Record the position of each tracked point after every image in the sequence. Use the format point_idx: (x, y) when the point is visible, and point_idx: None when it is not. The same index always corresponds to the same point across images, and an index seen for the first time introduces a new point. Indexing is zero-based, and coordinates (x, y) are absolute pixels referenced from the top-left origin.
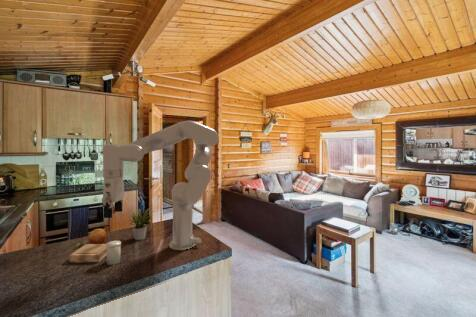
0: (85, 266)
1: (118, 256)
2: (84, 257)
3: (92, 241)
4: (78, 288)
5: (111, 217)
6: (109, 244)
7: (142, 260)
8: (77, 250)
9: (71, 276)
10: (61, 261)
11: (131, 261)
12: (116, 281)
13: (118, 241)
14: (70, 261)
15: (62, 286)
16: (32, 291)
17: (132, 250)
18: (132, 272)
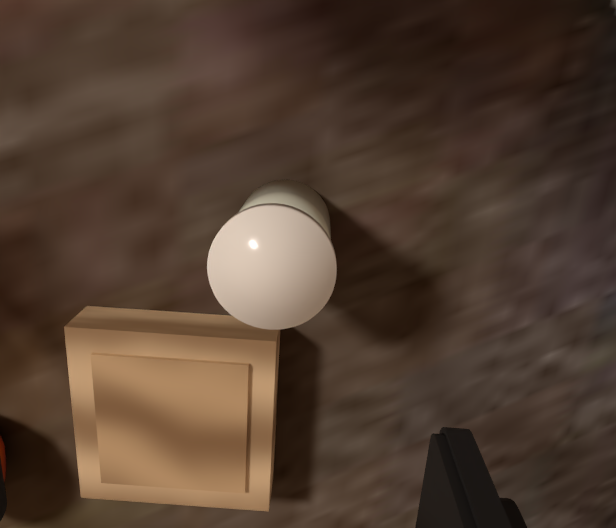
0: (337, 373)
1: (303, 194)
2: (273, 421)
3: (5, 476)
4: (611, 301)
5: (471, 432)
6: (304, 296)
7: (274, 2)
8: (192, 499)
9: (457, 394)
10: (257, 520)
11: (286, 93)
12: (584, 104)
13: (230, 241)
14: (272, 477)
15: (565, 389)
16: (580, 492)
17: (80, 148)
18: (474, 27)
